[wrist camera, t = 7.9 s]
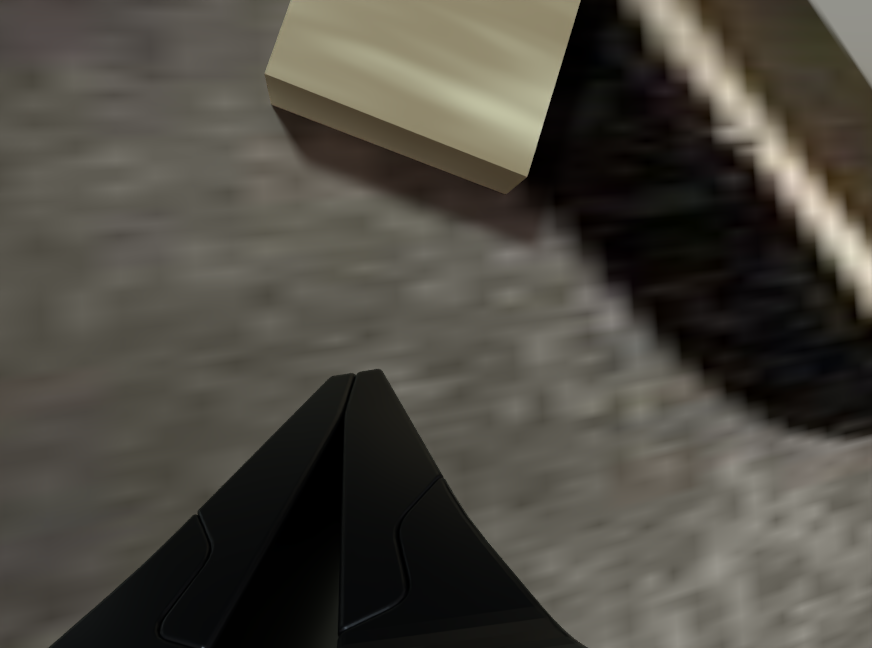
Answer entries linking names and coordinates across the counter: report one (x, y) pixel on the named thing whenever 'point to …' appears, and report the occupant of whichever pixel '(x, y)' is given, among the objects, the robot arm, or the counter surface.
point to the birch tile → (427, 77)
